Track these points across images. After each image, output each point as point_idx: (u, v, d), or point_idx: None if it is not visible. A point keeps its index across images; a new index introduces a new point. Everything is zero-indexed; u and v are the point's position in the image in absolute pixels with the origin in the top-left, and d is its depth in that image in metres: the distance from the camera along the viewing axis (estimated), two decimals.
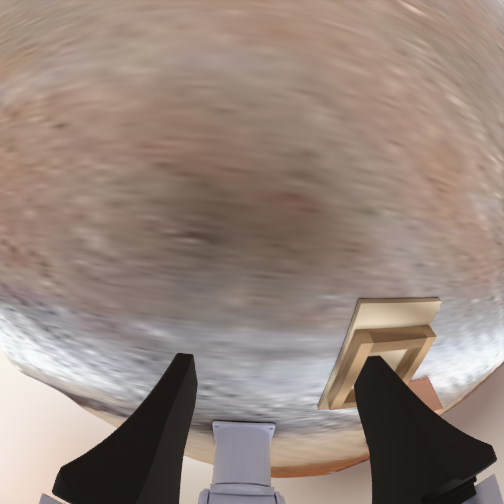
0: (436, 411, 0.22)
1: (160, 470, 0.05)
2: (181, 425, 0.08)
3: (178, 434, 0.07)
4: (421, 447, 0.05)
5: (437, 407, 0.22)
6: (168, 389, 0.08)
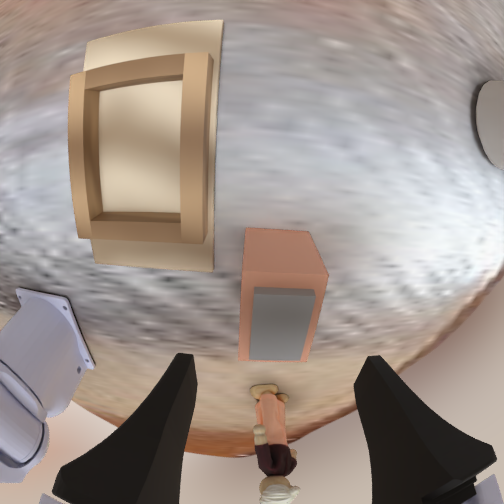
0: (309, 281, 0.12)
1: (160, 470, 0.05)
2: (181, 425, 0.08)
3: (178, 434, 0.07)
4: (422, 447, 0.05)
5: (310, 270, 0.13)
6: (168, 389, 0.08)
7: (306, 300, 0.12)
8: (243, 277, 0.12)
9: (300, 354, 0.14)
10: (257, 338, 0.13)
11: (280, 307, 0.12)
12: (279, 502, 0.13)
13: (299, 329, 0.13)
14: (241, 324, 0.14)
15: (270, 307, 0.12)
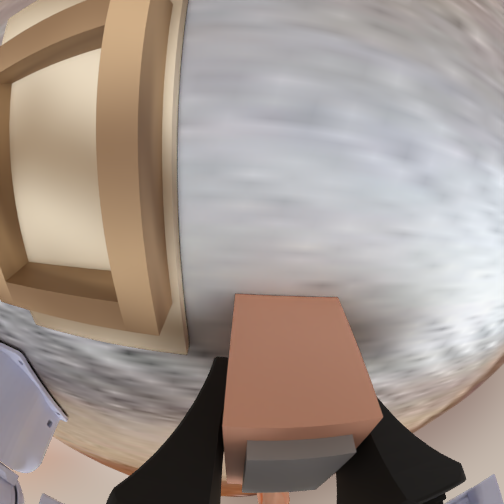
0: (347, 428, 0.05)
1: (215, 478, 0.05)
2: None
3: (222, 439, 0.07)
4: (379, 460, 0.05)
5: (352, 410, 0.06)
6: (214, 395, 0.08)
7: (339, 457, 0.05)
8: (226, 432, 0.05)
9: (317, 486, 0.07)
10: (253, 483, 0.06)
11: (293, 466, 0.05)
12: None
13: (320, 475, 0.06)
14: (228, 464, 0.07)
15: (275, 467, 0.05)
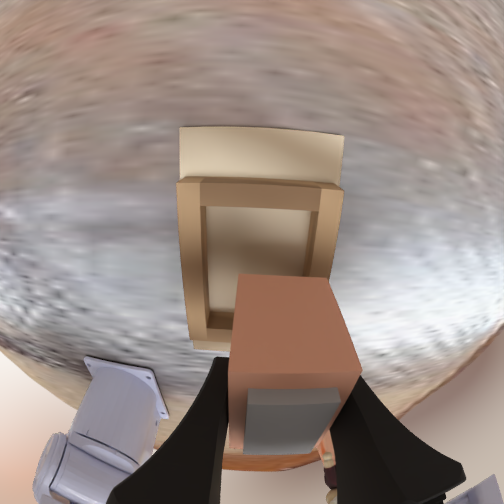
0: (332, 379, 0.07)
1: (215, 478, 0.05)
2: (223, 430, 0.08)
3: (222, 439, 0.07)
4: (379, 460, 0.05)
5: (335, 363, 0.07)
6: (214, 395, 0.08)
7: (326, 407, 0.07)
8: (230, 378, 0.07)
9: (310, 449, 0.09)
10: (253, 440, 0.08)
11: (287, 415, 0.07)
12: None
13: (312, 431, 0.08)
14: (231, 421, 0.08)
15: (272, 416, 0.07)
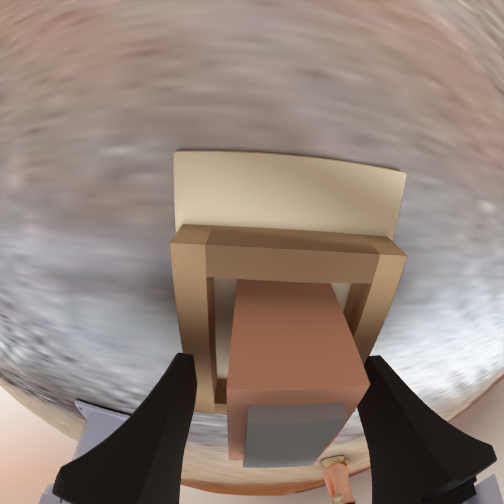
0: (338, 394, 0.07)
1: (160, 470, 0.05)
2: (181, 425, 0.08)
3: (178, 434, 0.07)
4: (421, 447, 0.05)
5: (342, 377, 0.07)
6: (168, 389, 0.08)
7: (331, 423, 0.06)
8: (229, 395, 0.07)
9: (313, 461, 0.08)
10: (254, 454, 0.07)
11: (290, 432, 0.07)
12: None
13: (315, 446, 0.07)
14: (230, 436, 0.08)
15: (274, 432, 0.07)
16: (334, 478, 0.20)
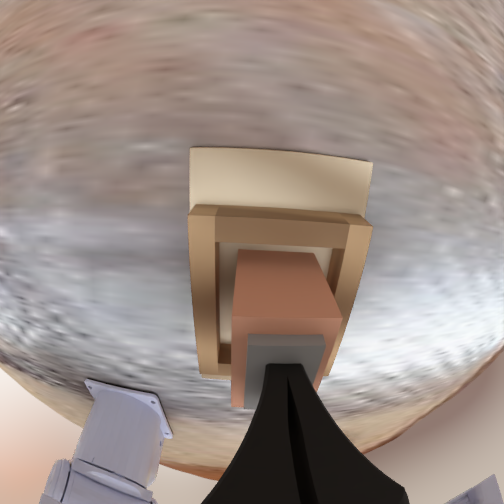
0: (317, 325, 0.09)
1: None
2: None
3: None
4: (308, 471, 0.05)
5: (320, 312, 0.10)
6: (277, 397, 0.08)
7: (314, 350, 0.09)
8: (233, 323, 0.09)
9: None
10: (253, 389, 0.10)
11: (281, 358, 0.09)
12: None
13: None
14: (233, 373, 0.11)
15: (268, 359, 0.09)
16: None
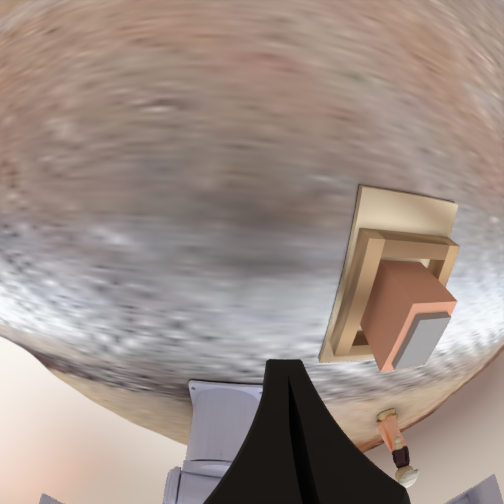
0: (446, 306, 0.14)
1: None
2: None
3: None
4: (309, 471, 0.05)
5: (446, 298, 0.14)
6: (278, 397, 0.08)
7: (445, 320, 0.13)
8: (412, 308, 0.14)
9: (426, 360, 0.15)
10: (407, 352, 0.14)
11: (430, 327, 0.14)
12: (412, 480, 0.19)
13: (434, 341, 0.14)
14: (396, 343, 0.15)
15: (425, 328, 0.14)
16: (390, 427, 0.27)
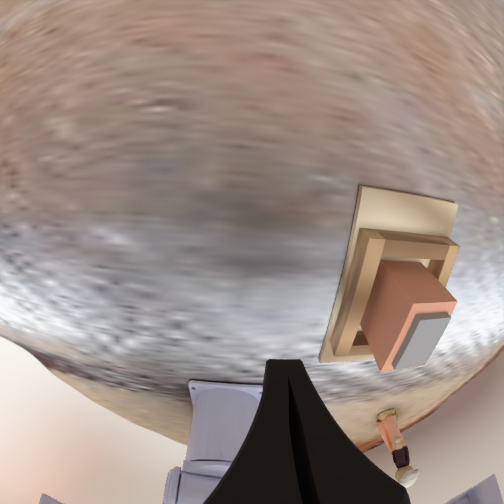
0: (446, 306, 0.14)
1: None
2: None
3: None
4: (310, 471, 0.05)
5: (446, 298, 0.14)
6: (278, 397, 0.08)
7: (445, 320, 0.13)
8: (412, 308, 0.14)
9: (426, 360, 0.15)
10: (407, 352, 0.14)
11: (430, 327, 0.14)
12: (412, 480, 0.19)
13: (434, 341, 0.14)
14: (396, 343, 0.15)
15: (425, 328, 0.14)
16: (390, 427, 0.27)
